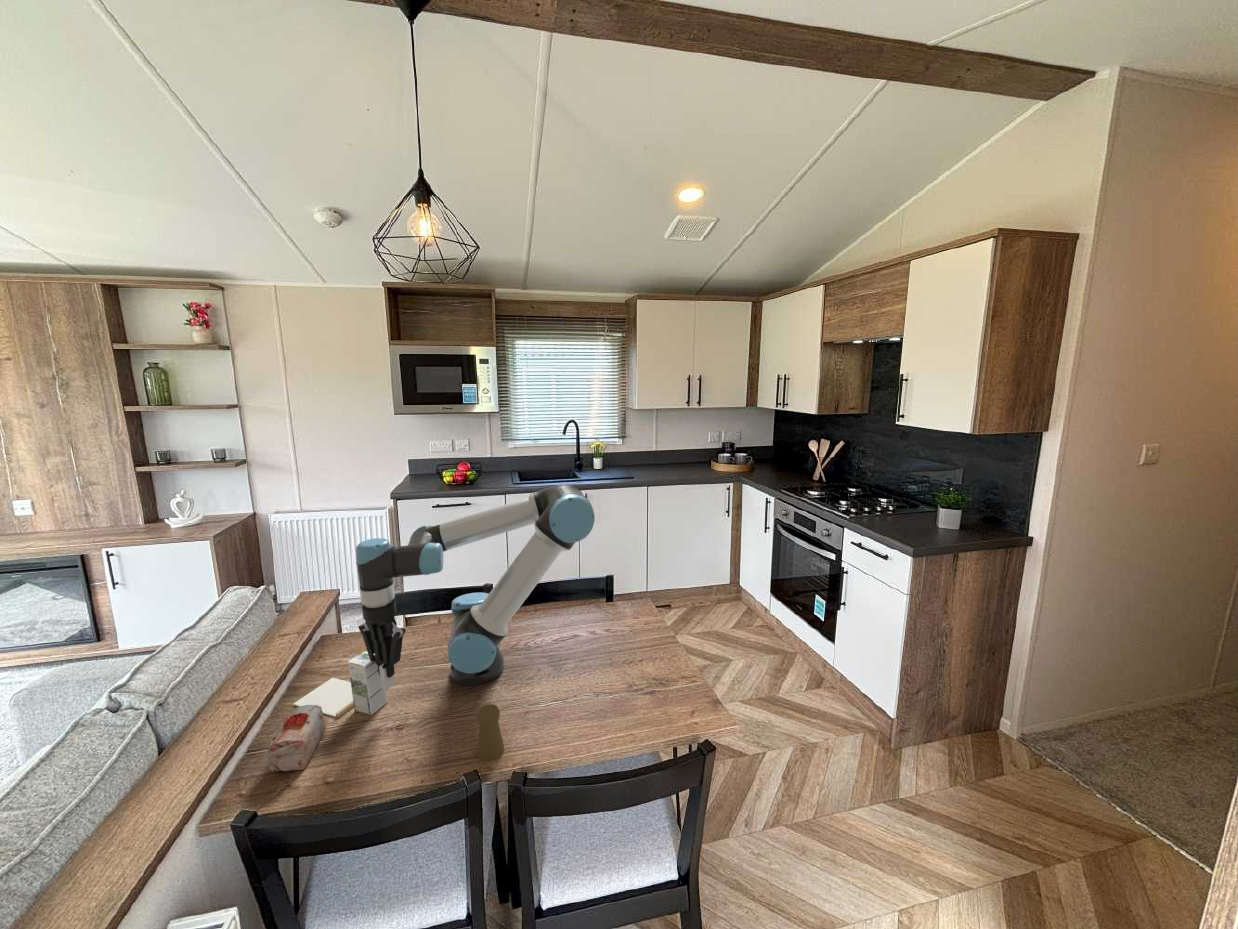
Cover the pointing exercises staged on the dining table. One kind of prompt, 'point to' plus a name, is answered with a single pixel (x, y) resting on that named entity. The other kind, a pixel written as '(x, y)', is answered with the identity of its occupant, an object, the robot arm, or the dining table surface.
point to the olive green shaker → (489, 733)
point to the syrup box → (366, 684)
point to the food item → (296, 739)
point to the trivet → (330, 697)
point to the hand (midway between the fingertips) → (388, 686)
